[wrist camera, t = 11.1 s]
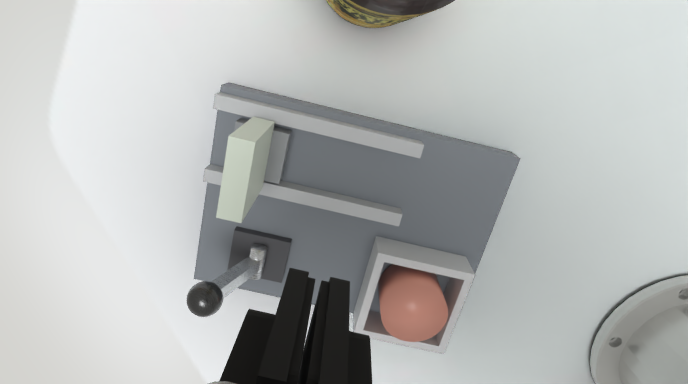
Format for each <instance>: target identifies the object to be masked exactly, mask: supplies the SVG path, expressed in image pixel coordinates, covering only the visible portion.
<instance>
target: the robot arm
mask: <svg viewBox="0 0 688 384" xmlns="http://www.w3.org/2000/svg"><path fill="white" fill-rule="evenodd" d="M308 275H309V272H308V271H303V270H299V269H294V268H289V272H288V275H287V278H286V282H285V285H284V288H283V292H282V295H281V299H280V302H279V305H278V309H277V312H276V315H274V314H269V313H265V312H260V311H256V310H251V309H249V310H248V312H247V314H246V317H245V319H244V322H243V324H242V327H241V329H240V331H239V334H238V336H237V339H236V341H235V344H234V346H233V349H232V351H231V354H230V356H229V359H228V361H227V364H226V366H225V369H224V371H223V374H222V376H221V378H220V381H218V382H212V383H209V384H372V371H371V349H370V337H369V335H365V334H360V333H356V332H351V331H349V305H350V281H347V280H343V279H338V278H334V277H330V279H329V282H327V281H323V280H322V281H321V284H320V288H319V292H318V296H317V300H316V304H315V307H314V311H313V315H312V319H311V323H310V327H309V331H308V335H307V339H306V342H305V338H306V332H307V326H308V320H309V314H310V309H311V303H312V297H313V291H314V285H315V280H316V279H314V278H310V277H308ZM304 343H305V346H304ZM303 349H304V350H303ZM590 366H591V374H592V377H593V379H594V381H595V384H688V275H685V276H678V277H675V278H671V279H667V280H663V281H660V282H658V283H656V284H653V285H651V286H649V287H646V288H644V289H643V290H641V291H639V292H638V293H636V294H634V295H633V296H631V297H629V298H628V299H627V300H626V301H624V302H623V303H622V304H621V305H620V306H618V307H617V308H616V309H615V310H614V311H613V312H612V314H611V315H610V316H609V317H608V318H607V319H606V320H605V322H604V323H603V325H602V326H601V328H600V330H599V331H598V333H597V335H596V337H595V340H594V343H593V346H592V349H591V357H590Z"/></svg>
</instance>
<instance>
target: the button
mask: <svg viewBox="0 0 688 384" xmlns="http://www.w3.org/2000/svg"><path fill="white" fill-rule="evenodd" d="M378 293H379V302H380V312H381V320H382V323H383V326H384V327H385V329H386V330H387V331H388V332H389V333H390V334H391V335H392V336H394V337H395V338H397V339H400V340H403V341H408V342H419V341H424V340H427V339H429V338H431V337H433V336H435V335H436V334H437V333H439V332H440V331H441V329H442V328H443V327H444V325H445V323H446V321H447V318H448V307H447V304H446V301H445V298H444V295H443V292H442V290H441V287H440V284H439V281H438V278H437V276H436V274H435V273H430V272H426V271H422V270H417V269H413V268H408V267H404V266H399V265H395V264H393V265H391V266H390V267H388V268H387V269H386V270H385V271H384V272H383V274H382V275H381V277H380V280H379V283H378Z"/></svg>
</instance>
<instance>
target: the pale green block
mask: <svg viewBox="0 0 688 384" xmlns="http://www.w3.org/2000/svg"><path fill="white" fill-rule="evenodd" d="M274 123H275V122H274V121H270V120H266V119H261V118H257V117H252V118H251V119H249V120H248V119H244V118H240V119H238V120H237V121H236V122H235V129H234V132H233V133H232V134H230V135H229V136H228V142H227V149H226V156H225V162H224V169H223V175H222V182H221V188H220V195H219V201H218V208H217V214H216V218H220V219H224V220H229V221H233V222H238V223H242V221H243V220H244V218H245V216H246V215H247V213H248V211H249V210H250V208H251V206H252V205H253V203H254V201H255V200H256V198H257V196H258V195H259V193H260V191H261V190H262V187H263V182H264V181H268V182H272V183H276V184H279V183H280V181H281V179H282V176H283V172H284V167H285V162H286V157H287V152H288V147H289V142H290V137H291V132H292V130H290V129H286V128H282V127H277V126H274Z"/></svg>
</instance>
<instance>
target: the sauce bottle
mask: <svg viewBox="0 0 688 384" xmlns="http://www.w3.org/2000/svg"><path fill="white" fill-rule="evenodd" d="M326 1H327V2H328V4H329V5H330V6H331V7H332V9H333V10H334V11H335V12H336V13H337V14H338V15H339V16H340V17H342V18H343V19H345V20H347V21H349V22H351V23H353V24H355V25H359V26H362V27H369V28H379V27H386V26H391V25H394V24H397V23H400V22H403V21H406V20H409V19H412V18H414V17H418V16H420V15H423V14H426V13H429V12H432V11H434V10H437V9H439V8H442V7H444V6H446V5H448V4H450V3H451V2H453V1H455V0H326Z"/></svg>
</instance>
